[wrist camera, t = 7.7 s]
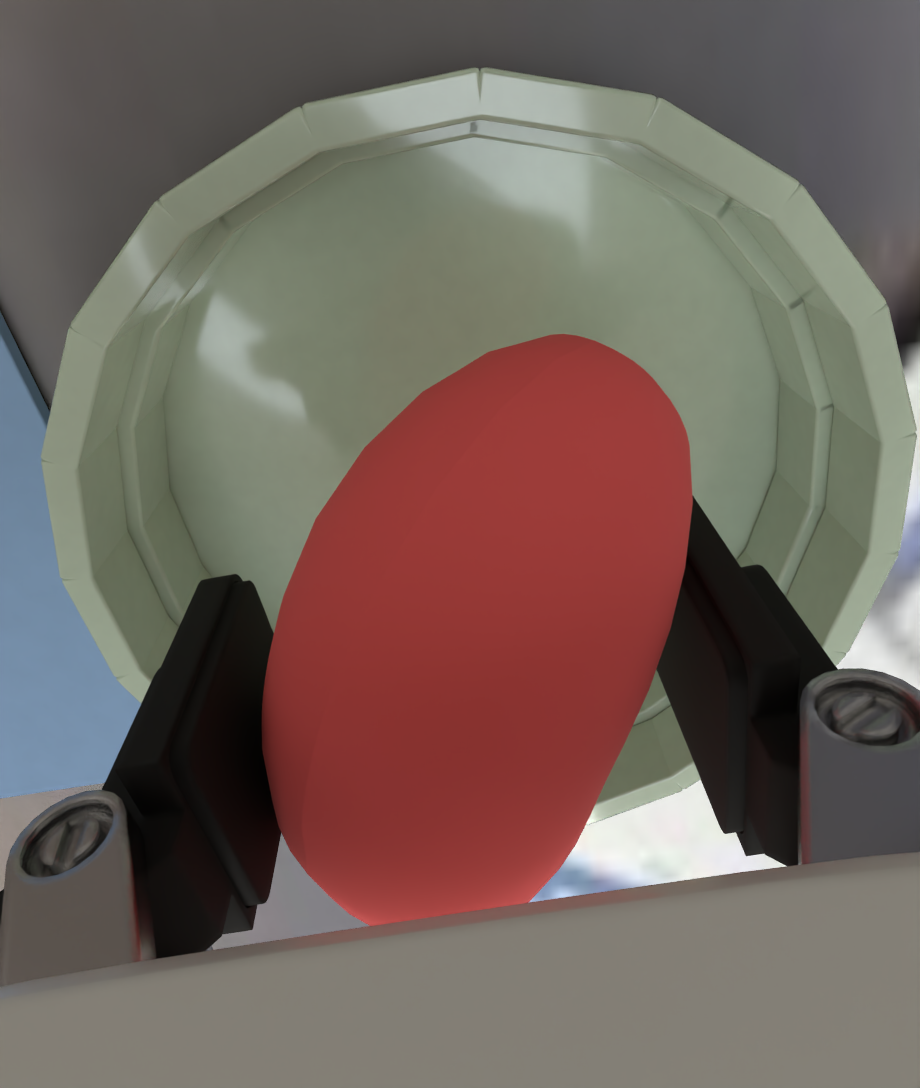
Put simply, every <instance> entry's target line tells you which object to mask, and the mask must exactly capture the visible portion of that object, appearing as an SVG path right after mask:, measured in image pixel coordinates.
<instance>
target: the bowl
mask: <svg viewBox="0 0 920 1088" xmlns="http://www.w3.org/2000/svg"><path fill="white" fill-rule="evenodd" d="M553 334H569V335H577V336H581V337H585V338H588V339H591V340H595V341H597V342H599V343H601V344H604V345H606V346H608V347H610V348H612V349H614V350H616V351H618V352H619V353H621V354H623V355H625V356H626V357H628V358H630V359H631V360H633V361H634V362H636V363H637V364H638V365H639V366H641V367H642V368H643V369H644V370H645V371H646V372H647V373H648V374H649V375H650V376H651V377H652V378H653V379H654V380H655V381H656V382H657V384H658V385H659V386H660V387H661V389H662V390H663V391H664V393H665V394H666V395H667V396H668V398H669V399H670V400H671V402H672V403H673V405H674V407H675V408H676V410H677V412H678V413H679V415H680V417H681V419H682V422H683V424H684V427H685V429H686V432H687V436H688V440H689V445H690V461H691V479H692V495H693V496H694V498H695V499H696V501H697V502H698V504H699V505H700V507H701V508H702V510H703V511H704V513H705V514H706V516H707V517H708V519H709V520H710V522H711V523H712V525H713V526H714V528H715V529H716V531H717V532H718V534H719V535H720V537H721V538H722V540H723V541H724V543H725V544H726V546H727V547H728V549H729V550H730V552H731V553H732V555H733V556H734V558H735V559H736V561H737V562H738V564H739V565H740V567H745V566H750V565H756V564H758V565H761V566H763V567H764V568H765V569H766V570H767V571H768V573H769V574H770V576H771V577H772V578H773V580H774V581H775V583H776V584H777V585H778V587H779V588H780V589H781V591H782V592H783V594H784V595H785V596H786V598H787V599H788V601H789V602H790V603H791V605H792V606H793V608H794V609H795V610H796V612H797V613H798V615H799V616H800V617H801V619H802V620H803V622H804V623H805V624H806V626H807V627H808V629H809V630H810V631H811V633H812V634H813V636H814V637H815V638H816V640H817V641H818V642H819V644H820V645H821V647H822V648H823V649H824V651H825V652H826V654H827V655H828V656H829V658H830V659H831V661H832V662H833V663H834V665H835V666H836V665H837V664H838V663H839V662H840V661H841V660H842V659H843V658H844V657H845V656H846V653H847V652H849V650H850V648H851V646H852V644H853V642H854V640H855V638H856V636H857V635H858V633H859V631H860V629H861V627H862V625H863V623H864V621H865V619H866V617H867V615H868V613H869V611H870V609H871V607H872V605H873V603H874V601H875V599H876V598H877V596H878V594H879V592H880V590H881V588H882V586H883V584H884V582H885V580H886V578H887V576H888V574H889V572H890V570H891V568H892V566H893V564H894V562H895V560H896V559H897V557H898V551H899V550H900V546H901V539H902V533H903V526H904V519H905V512H906V506H907V499H908V492H909V485H910V478H911V472H912V465H913V458H914V451H915V445H916V438H917V435H916V424H915V420H914V416H913V411H912V407H911V403H910V398H909V394H908V390H907V385H906V381H905V377H904V372H903V368H902V364H901V359H900V355H899V351H898V346H897V342H896V337H895V333H894V329H893V324H892V320H891V316H890V311H889V307H888V305H887V304H886V299H885V298H884V296H883V295H882V294H881V292H880V291H879V289H878V288H877V287H876V285H875V284H874V283H873V281H872V280H871V278H870V277H869V276H868V274H867V273H866V271H865V270H864V269H863V267H862V266H861V265H860V263H859V262H858V260H857V259H856V258H855V256H854V255H853V253H852V252H851V251H850V249H849V248H848V246H847V245H846V244H845V242H844V241H843V240H842V238H841V237H840V235H839V234H838V233H837V231H836V230H835V228H834V227H833V226H832V224H831V223H830V222H829V220H828V219H827V217H826V216H825V215H824V213H823V212H822V210H821V209H820V208H819V206H818V205H817V204H816V202H815V201H814V199H813V198H812V197H811V195H810V194H809V192H808V191H807V190H806V188H805V187H804V186H803V185H802V184H799V182H798V180H797V179H795V178H794V177H792V176H790V175H789V174H787V173H785V172H784V171H782V170H781V169H779V168H777V167H776V166H774V165H772V164H771V163H769V162H767V161H766V160H764V159H762V158H761V157H759V156H757V155H756V154H754V153H753V152H751V151H749V150H748V149H746V148H744V147H743V146H741V145H739V144H738V143H736V142H734V141H733V140H731V139H730V138H728V137H726V136H725V135H723V134H721V133H720V132H718V131H716V130H715V129H713V128H711V127H710V126H708V125H706V124H705V123H703V122H702V121H700V120H698V119H697V118H695V117H693V116H692V115H690V114H688V113H687V112H685V111H683V110H682V109H680V108H679V107H677V106H675V105H674V104H672V103H670V102H669V101H667V100H665V99H664V98H661V97H656V96H654V95H653V94H648V93H642V92H636V91H629V90H623V89H617V88H611V87H605V86H599V85H593V84H587V83H581V82H574V81H568V80H562V79H556V78H550V77H544V76H538V75H532V74H526V73H520V72H513V71H507V70H501V69H495V68H489V67H483V68H480V69H478V68H476V67H472V68H468V69H463V70H458V71H453V72H449V73H444V74H439V75H435V76H430V77H425V78H420V79H416V80H411V81H406V82H402V83H397V84H392V85H388V86H383V87H378V88H373V89H369V90H364V91H359V92H355V93H350V94H345V95H340V96H336V97H331V98H326V99H322V100H317V101H312V102H308V103H305V104H303V105H302V106H301V107H295V108H294V109H292V110H290V111H289V112H287V113H286V114H284V115H283V116H281V117H280V118H278V119H277V120H275V121H274V122H272V123H271V124H269V125H268V126H266V127H265V128H263V129H262V130H260V131H259V132H257V133H256V134H254V135H253V136H251V137H250V138H248V139H246V140H245V141H243V142H242V143H240V144H239V145H237V146H236V147H234V148H233V149H231V150H230V151H228V152H227V153H225V154H224V155H222V156H221V157H219V158H218V159H216V160H215V161H213V162H212V163H210V164H209V165H207V166H205V167H204V168H202V169H201V170H199V171H198V172H196V173H195V174H193V175H192V176H190V177H189V178H187V179H186V180H184V181H183V182H181V183H180V184H178V185H177V186H175V187H174V188H172V189H171V190H169V191H168V192H166V193H164V194H163V195H161V197H160V198H159V200H157V201H155V202H154V203H153V204H152V206H151V207H150V209H149V210H148V211H147V213H146V214H145V216H144V217H143V219H142V220H141V222H140V223H139V224H138V226H137V227H136V229H135V230H134V232H133V233H132V235H131V236H130V238H129V239H128V240H127V242H126V243H125V245H124V246H123V248H122V249H121V251H120V252H119V253H118V255H117V256H116V258H115V259H114V261H113V262H112V264H111V265H110V266H109V268H108V269H107V271H106V272H105V274H104V275H103V277H102V278H101V280H100V281H99V282H98V284H97V285H96V287H95V288H94V290H93V291H92V293H91V294H90V295H89V297H88V298H87V300H86V301H85V303H84V304H83V306H82V307H81V309H80V310H79V311H78V313H77V314H76V316H75V317H74V319H73V320H72V322H71V324H70V327H69V328H68V332H67V336H66V341H65V345H64V350H63V355H62V359H61V364H60V369H59V373H58V378H57V382H56V387H55V392H54V396H53V401H52V405H51V410H50V415H49V419H48V424H47V429H46V433H45V438H44V442H43V447H42V452H41V459H42V460H41V465H42V471H43V477H44V483H45V490H46V496H47V502H48V508H49V514H50V520H51V526H52V532H53V538H54V544H55V550H56V557H57V563H58V569H59V575H60V578H62V583H63V585H64V586H65V588H66V590H67V592H68V594H69V596H70V597H71V599H72V601H73V603H74V605H75V606H76V608H77V610H78V612H79V614H80V616H81V617H82V619H83V621H84V623H85V625H86V626H87V628H88V630H89V632H90V634H91V635H92V637H93V639H94V641H95V643H96V645H97V646H98V648H99V650H100V652H101V654H102V655H103V657H104V659H105V661H106V663H107V665H108V666H109V668H110V670H111V672H112V674H113V675H114V676H115V677H116V679H117V681H118V682H119V683H120V684H121V685H122V686H123V687H124V688H125V689H126V690H127V691H128V692H129V693H130V694H132V695H133V696H134V697H135V698H136V699H137V700H138V701H139V702H140V703H142V701H143V699H144V697H145V694H146V692H147V690H148V688H149V686H150V684H151V681H152V679H153V677H154V675H155V674H156V672H157V671H158V669H159V668H161V665H162V663H163V661H164V659H165V657H166V654H167V652H168V650H169V648H170V646H171V643H172V641H173V639H174V637H175V635H176V632H177V630H178V628H179V626H180V624H181V621H182V619H183V617H184V615H185V613H186V610H187V608H188V606H189V604H190V602H191V599H192V597H193V595H194V593H195V591H196V588H197V586H198V584H199V583H200V581H201V580H204V579H209V578H214V577H220V576H226V575H231V574H237V575H239V576H240V577H241V579H242V580H243V581H248V580H250V581H252V582H253V584H254V585H255V587H256V590H257V592H258V595H259V597H260V600H261V602H262V605H263V607H264V610H265V612H266V615H267V618H268V620H269V623H270V625H271V628H272V630H273V633H274V631H275V627H276V623H277V618H278V614H279V610H280V607H281V603H282V599H283V596H284V593H285V591H286V588H287V586H288V584H289V581H290V579H291V576H292V574H293V572H294V569H295V567H296V564H297V562H298V560H299V557H300V555H301V552H302V550H303V548H304V545H305V543H306V541H307V538H308V536H309V533H310V531H311V529H312V526H313V524H314V521H315V519H316V517H317V516H318V515H319V513H320V512H321V510H322V509H323V507H324V506H325V504H326V503H327V501H328V500H329V498H330V497H331V496H332V494H333V493H334V491H335V490H336V488H337V487H338V485H339V484H340V482H341V481H342V479H343V478H344V477H345V475H346V474H347V472H348V471H349V469H350V468H351V466H352V465H353V463H354V462H355V461H356V459H357V458H358V456H359V455H360V453H361V452H362V450H363V449H364V447H365V446H366V445H368V444H369V443H370V442H371V441H372V440H373V439H374V438H375V437H376V436H377V435H378V434H379V433H380V432H381V431H382V430H383V429H384V428H385V427H386V426H387V425H388V424H389V423H390V422H391V421H392V420H393V419H395V418H396V417H397V416H398V415H399V414H400V413H401V412H402V411H403V410H404V409H405V408H406V407H407V406H408V405H409V404H410V403H411V402H412V401H413V400H414V399H415V398H416V397H417V396H418V395H419V394H420V393H422V392H423V391H425V390H426V389H428V388H430V387H431V386H433V385H435V384H436V383H438V382H440V381H441V380H443V379H445V378H446V377H448V376H450V375H451V374H453V373H455V372H456V371H458V370H460V369H461V368H463V367H464V366H466V365H468V364H469V363H471V362H473V361H474V360H476V359H477V358H479V357H481V356H482V355H484V354H486V353H487V352H489V351H493V350H497V349H501V348H504V347H508V346H512V345H516V344H519V343H523V342H526V341H530V340H533V339H537V338H540V337H544V336H548V335H553ZM700 779H701V778H700V776H699V774H698V771H697V769H696V766H695V764H694V761H693V759H692V756H691V754H690V751H689V749H688V746H687V744H686V741H685V739H684V736H683V734H682V731H681V729H680V726H679V724H678V721H677V719H676V717H675V714H674V712H673V709H672V707H671V704H670V702H669V699H668V697H667V694H666V692H665V689H664V687H663V684H662V682H661V679H660V677H659V674H658V672H657V669H656V671H655V674H654V677H653V680H652V683H651V686H650V689H649V691H648V693H647V695H646V698H645V700H644V702H643V704H642V706H641V709H640V711H639V713H638V715H637V717H636V720H635V722H634V724H633V726H632V728H631V731H630V733H629V735H628V737H627V739H626V742H625V744H624V746H623V748H622V750H621V752H620V754H619V756H618V758H617V760H616V762H615V764H614V766H613V768H612V770H611V772H610V774H609V776H608V778H607V780H606V782H605V784H604V786H603V788H602V791H601V793H600V795H599V797H598V799H597V802H596V804H595V806H594V808H593V811H592V813H591V815H590V817H589V819H588V821H587V823H586V825H590V824H592V823H595V822H598V821H601V820H603V819H606V818H609V817H612V816H614V815H617V814H620V813H623V812H625V811H628V810H631V809H634V808H636V807H639V806H642V805H645V804H647V803H650V802H653V801H656V800H659V799H661V798H664V797H667V796H670V795H672V794H675V793H678V792H681V791H682V789H686V788H688V787H689V786H691V785H693V784H694V783H696V782H697V781H699V780H700Z"/></svg>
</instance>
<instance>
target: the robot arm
mask: <svg viewBox="0 0 920 1088" xmlns="http://www.w3.org/2000/svg"><path fill="white" fill-rule="evenodd" d="M692 497H693V505H692V514H691V522H690V531H689V539H688V547H687V556H686V564H685V570H684V575H683V579H682V583H681V587H680V591H679V595H678V600H677V604H676V608H675V612H674V616H673V620H672V625H671V629H670V631H669V634H668V637H667V640H666V643H665V646H664V649H663V651H662V654H661V657H660V660H659V663H658V666H657V672H658V674H659V677H660V679H661V682H662V684H663V687H664V689H665V692H666V694H667V697H668V699H669V702H670V704H671V707H672V709H673V712H674V714H675V717H676V719H677V721H678V724H679V726H680V729H681V731H682V734H683V736H684V739H685V741H686V744H687V746H688V749H689V751H690V754H691V756H692V759H693V761H694V764H695V766H696V769H697V771H698V774H699V776H700V778H701V781H702V783H703V786H704V788H705V791H706V793H707V796H708V798H709V801H710V803H711V806H712V808H713V811H714V813H715V816H716V818H717V821H718V823H719V825H720V828H721V830H722V831H723V833H725V834H727V833H734V832H736V833H737V836H738V838H739V841H740V843H741V845H742V848H743V850H744V852H745V855H746V856H751V855H757V854H764V853H765V855H767V856H769V857H771V858H773V859H775V860H776V861H778V862H780V863H782V864H784V865H786V866H787V867H780V868H772V869H764V870H756V871H748V872H740V873H733V874H726V875H719V876H712V877H705V878H698V879H691V880H684V881H677V882H670V883H663V884H656V885H649V886H642V887H635V888H628V889H621V890H614V891H607V892H600V893H593V894H586V895H579V896H572V897H565V898H558V899H551V900H544V901H537V902H531V903H524V904H517V905H510V906H503V907H497V908H490V909H483V910H476V911H469V912H463V913H456V914H449V915H442V916H435V917H429V918H422V919H415V920H409V921H402V922H395V923H388V924H382V925H375V926H368V927H362V928H355V929H348V930H341V931H335V932H328V933H322V934H315V935H309V936H302V937H296V938H289V939H283V940H276V941H269V942H263V943H256V944H250V945H243V946H237V947H230V948H224V949H217V950H213V948H212V946H211V945H212V944H214V943H215V942H216V941H217V940H218V939H219V938H220V937H221V936H222V934H228V933H234V932H241V931H248V930H252V929H253V924H254V919H255V914H256V909H257V904H264V903H265V902H266V901H267V899H268V897H269V893H270V889H271V883H272V878H273V873H274V868H275V862H276V857H277V852H278V847H279V841H280V836H281V830H280V828H279V826H278V822H277V818H276V814H275V810H274V806H273V802H272V797H271V792H270V787H269V782H268V777H267V772H266V767H265V762H264V756H263V751H262V702H263V691H264V683H265V676H266V670H267V664H268V658H269V653H270V649H271V644H272V640H273V635H274V633H273V630H272V628H271V625H270V623H269V620H268V618H267V615H266V612H265V610H264V607H263V605H262V602H261V600H260V597H259V595H258V592H257V590H256V587H255V585H254V584H253V582H252V581H250V580H248V581H243V580H242V579H241V577H240V576H239V575H237V574H231V575H226V576H220V577H214V578H209V579H204V580H201V581H200V583H199V584H198V586H197V588H196V591H195V593H194V595H193V597H192V599H191V602H190V604H189V606H188V608H187V610H186V613H185V615H184V617H183V619H182V621H181V624H180V626H179V628H178V630H177V632H176V635H175V637H174V639H173V641H172V643H171V646H170V648H169V650H168V652H167V654H166V657H165V659H164V661H163V663H162V665H161V668H159V669H158V671H157V672H156V674H155V675H154V677H153V679H152V681H151V684H150V686H149V688H148V690H147V692H146V694H145V697H144V699H143V701H142V703H141V705H140V708H139V710H138V712H137V714H136V716H135V718H134V721H133V723H132V725H131V727H130V729H129V731H128V734H127V736H126V738H125V740H124V742H123V745H122V747H121V749H120V751H119V753H118V755H117V758H116V760H115V762H114V764H113V766H112V769H111V771H110V773H109V775H108V777H107V779H106V782H105V784H104V786H103V788H102V790H94V791H85V792H82V793H79V794H76V795H73V796H70V797H67V798H65V799H63V800H61V801H60V802H58V803H56V804H54V805H52V806H50V807H49V808H48V809H46V810H45V811H44V812H43V813H41V814H40V815H39V816H37V817H36V818H35V819H34V820H33V821H32V822H31V823H30V824H29V825H28V826H27V827H26V828H25V829H24V830H23V831H22V832H21V833H20V835H19V837H18V838H17V840H16V841H15V843H14V845H13V846H12V848H11V850H10V853H9V857H8V860H7V864H6V874H5V884H4V889H3V890H2V891H1V892H0V1088H920V691H919V690H918V689H916V688H915V687H913V686H912V685H910V684H908V683H907V682H905V681H904V680H902V679H899V678H896V677H894V676H891V675H888V674H886V673H883V672H878V671H873V670H867V669H839V670H838V669H837V668H836V666H835V665H834V663H833V662H832V661H831V659H830V658H829V656H828V655H827V654H826V652H825V651H824V649H823V648H822V647H821V645H820V644H819V642H818V641H817V640H816V638H815V637H814V636H813V634H812V633H811V631H810V630H809V629H808V627H807V626H806V624H805V623H804V622H803V620H802V619H801V617H800V616H799V615H798V613H797V612H796V610H795V609H794V608H793V606H792V605H791V603H790V602H789V601H788V599H787V598H786V596H785V595H784V594H783V592H782V591H781V589H780V588H779V587H778V585H777V584H776V583H775V581H774V580H773V578H772V577H771V576H770V574H769V573H768V571H767V570H766V569H765V568H764V567H763V566H761V565H758V564H756V565H750V566H745V567H740V565H739V564H738V562H737V561H736V559H735V558H734V556H733V555H732V553H731V552H730V550H729V549H728V547H727V546H726V544H725V543H724V541H723V540H722V538H721V537H720V535H719V534H718V532H717V531H716V529H715V528H714V526H713V525H712V523H711V522H710V520H709V519H708V517H707V516H706V514H705V513H704V511H703V510H702V508H701V507H700V505H699V504H698V502H697V501H696V499H695V498H694V496H693V495H692Z"/></svg>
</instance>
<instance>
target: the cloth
mask: <svg viewBox="0 0 920 1088" xmlns="http://www.w3.org/2000/svg"><path fill="white" fill-rule="evenodd" d="M49 415H50V412H49V410H48V408H47V406H46V404H45V401H44V399H43V397H42V395H41V393H40V391H39V389H38V387H37V385H36V383H35V381H34V379H33V377H32V375H31V373H30V371H29V369H28V367H27V365H26V363H25V361H24V359H23V357H22V355H21V353H20V351H19V349H18V347H17V345H16V342H15V340H14V338H13V336H12V334H11V332H10V330H9V328H8V326H7V324H6V322H5V320H4V318H3V316H2V314H1V312H0V798H7V797H13V796H20V795H27V794H33V793H40V792H46V791H53V790H60V789H66V788H73V787H80V786H86V785H93V784H100V783H105V782H106V779H107V777H108V775H109V773H110V771H111V769H112V766H113V764H114V762H115V760H116V758H117V755H118V753H119V751H120V749H121V747H122V745H123V742H124V740H125V738H126V736H127V734H128V731H129V729H130V727H131V725H132V723H133V721H134V718H135V716H136V714H137V712H138V710H139V708H140V705H141V703H140V702H139V701H138V700H137V699H136V698H135V697H134V696H133V695H132V694H130V693H129V692H128V691H127V690H126V689H125V688H124V687H123V686H122V685H121V684H120V683H119V682H118V681H117V679H116V677H115V676H114V675H113V674H112V672H111V670H110V668H109V666H108V665H107V663H106V661H105V659H104V657H103V655H102V654H101V652H100V650H99V648H98V646H97V645H96V643H95V641H94V639H93V637H92V635H91V634H90V632H89V630H88V628H87V626H86V625H85V623H84V621H83V619H82V617H81V616H80V614H79V612H78V610H77V608H76V606H75V605H74V603H73V601H72V599H71V597H70V596H69V594H68V592H67V590H66V588H65V586H64V585H63V583H62V578H60V575H59V569H58V563H57V557H56V550H55V544H54V538H53V532H52V526H51V520H50V514H49V508H48V502H47V496H46V490H45V483H44V477H43V471H42V465H41V460H42V459H41V452H42V447H43V442H44V438H45V433H46V429H47V424H48V419H49Z"/></svg>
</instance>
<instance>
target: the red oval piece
mask: <svg viewBox="0 0 920 1088" xmlns="http://www.w3.org/2000/svg"><path fill="white" fill-rule="evenodd" d="M692 505H693V497H692V479H691V461H690V445H689V440H688V436H687V432H686V429H685V427H684V424H683V422H682V419H681V417H680V415H679V413H678V412H677V410H676V408H675V407H674V405H673V403H672V402H671V400H670V399H669V398H668V396H667V395H666V394H665V393H664V391H663V390H662V389H661V387H660V386H659V385H658V384H657V382H656V381H655V380H654V379H653V378H652V377H651V376H650V375H649V374H648V373H647V372H646V371H645V370H644V369H643V368H642V367H641V366H639V365H638V364H637V363H636V362H634V361H633V360H631V359H630V358H628V357H626V356H625V355H623V354H621V353H619V352H618V351H616V350H614V349H612V348H610V347H608V346H606V345H604V344H601V343H599V342H597V341H595V340H591V339H588V338H585V337H581V336H577V335H569V334H553V335H548V336H544V337H540V338H537V339H533V340H530V341H526V342H523V343H519V344H516V345H512V346H508V347H504V348H501V349H497V350H493V351H489V352H487V353H486V354H484V355H482V356H481V357H479V358H477V359H476V360H474V361H473V362H471V363H469V364H468V365H466V366H464V367H463V368H461V369H460V370H458V371H456V372H455V373H453V374H451V375H450V376H448V377H446V378H445V379H443V380H441V381H440V382H438V383H436V384H435V385H433V386H431V387H430V388H428V389H426V390H425V391H423V392H422V393H420V394H419V395H418V396H417V397H416V398H415V399H414V400H413V401H412V402H411V403H410V404H409V405H408V406H407V407H406V408H405V409H404V410H403V411H402V412H401V413H400V414H399V415H398V416H397V417H396V418H395V419H393V420H392V421H391V422H390V423H389V424H388V425H387V426H386V427H385V428H384V429H383V430H382V431H381V432H380V433H379V434H378V435H377V436H376V437H375V438H374V439H373V440H372V441H371V442H370V443H369V444H368V445H366V446H365V447H364V449H363V450H362V452H361V453H360V455H359V456H358V458H357V459H356V461H355V462H354V463H353V465H352V466H351V468H350V469H349V471H348V472H347V474H346V475H345V477H344V478H343V479H342V481H341V482H340V484H339V485H338V487H337V488H336V490H335V491H334V493H333V494H332V496H331V497H330V498H329V500H328V501H327V503H326V504H325V506H324V507H323V509H322V510H321V512H320V513H319V515H318V516H317V517H316V519H315V521H314V524H313V526H312V529H311V531H310V533H309V536H308V538H307V541H306V543H305V545H304V548H303V550H302V552H301V555H300V557H299V560H298V562H297V564H296V567H295V569H294V572H293V574H292V576H291V579H290V581H289V584H288V586H287V588H286V591H285V593H284V596H283V599H282V603H281V607H280V610H279V614H278V618H277V623H276V627H275V631H274V635H273V640H272V644H271V649H270V653H269V658H268V664H267V670H266V676H265V683H264V691H263V702H262V751H263V756H264V762H265V767H266V772H267V777H268V782H269V787H270V792H271V797H272V802H273V806H274V810H275V814H276V818H277V822H278V826H279V828H280V830H281V832H282V835H283V837H284V839H285V841H286V843H287V845H288V847H289V849H290V851H291V853H292V854H293V855H294V857H295V858H296V859H297V861H298V862H299V863H300V864H301V866H302V867H303V868H304V870H305V871H306V872H307V874H308V875H309V876H310V877H311V878H312V879H313V880H314V881H315V882H316V883H317V884H318V885H319V886H320V887H321V888H322V889H323V890H324V891H325V892H326V893H327V894H328V895H329V896H330V897H331V898H332V899H333V900H334V901H335V902H337V903H338V904H339V905H340V906H341V907H342V908H343V909H345V910H346V911H347V912H348V913H349V914H350V915H352V916H354V917H356V918H357V919H359V920H361V921H363V922H364V923H366V924H368V925H370V926H375V925H382V924H388V923H395V922H402V921H409V920H415V919H422V918H429V917H435V916H442V915H449V914H456V913H463V912H469V911H476V910H483V909H490V908H497V907H503V906H510V905H517V904H524V903H528V902H529V901H530V900H531V899H532V898H533V897H534V896H535V895H536V894H537V893H538V892H539V891H540V890H541V888H542V887H543V886H544V885H545V884H546V883H547V882H548V881H549V880H550V879H551V878H552V876H553V875H554V874H555V873H556V872H557V871H558V870H559V869H560V867H561V866H562V864H563V863H564V861H565V860H566V858H567V857H568V855H569V854H570V852H571V851H572V849H573V848H574V846H575V845H576V843H577V841H578V839H579V837H580V835H581V833H582V831H583V829H584V827H585V825H586V823H587V821H588V819H589V817H590V815H591V813H592V811H593V808H594V806H595V804H596V802H597V799H598V797H599V795H600V793H601V791H602V788H603V786H604V784H605V782H606V780H607V778H608V776H609V774H610V772H611V770H612V768H613V766H614V764H615V762H616V760H617V758H618V756H619V754H620V752H621V750H622V748H623V746H624V744H625V742H626V739H627V737H628V735H629V733H630V731H631V728H632V726H633V724H634V722H635V720H636V717H637V715H638V713H639V711H640V709H641V706H642V704H643V702H644V700H645V698H646V695H647V693H648V691H649V689H650V686H651V683H652V680H653V677H654V674H655V671H656V669H657V666H658V663H659V660H660V657H661V654H662V651H663V649H664V646H665V643H666V640H667V637H668V634H669V631H670V629H671V625H672V620H673V616H674V612H675V608H676V604H677V600H678V595H679V591H680V587H681V583H682V579H683V575H684V570H685V564H686V556H687V547H688V539H689V531H690V522H691V514H692Z"/></svg>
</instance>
